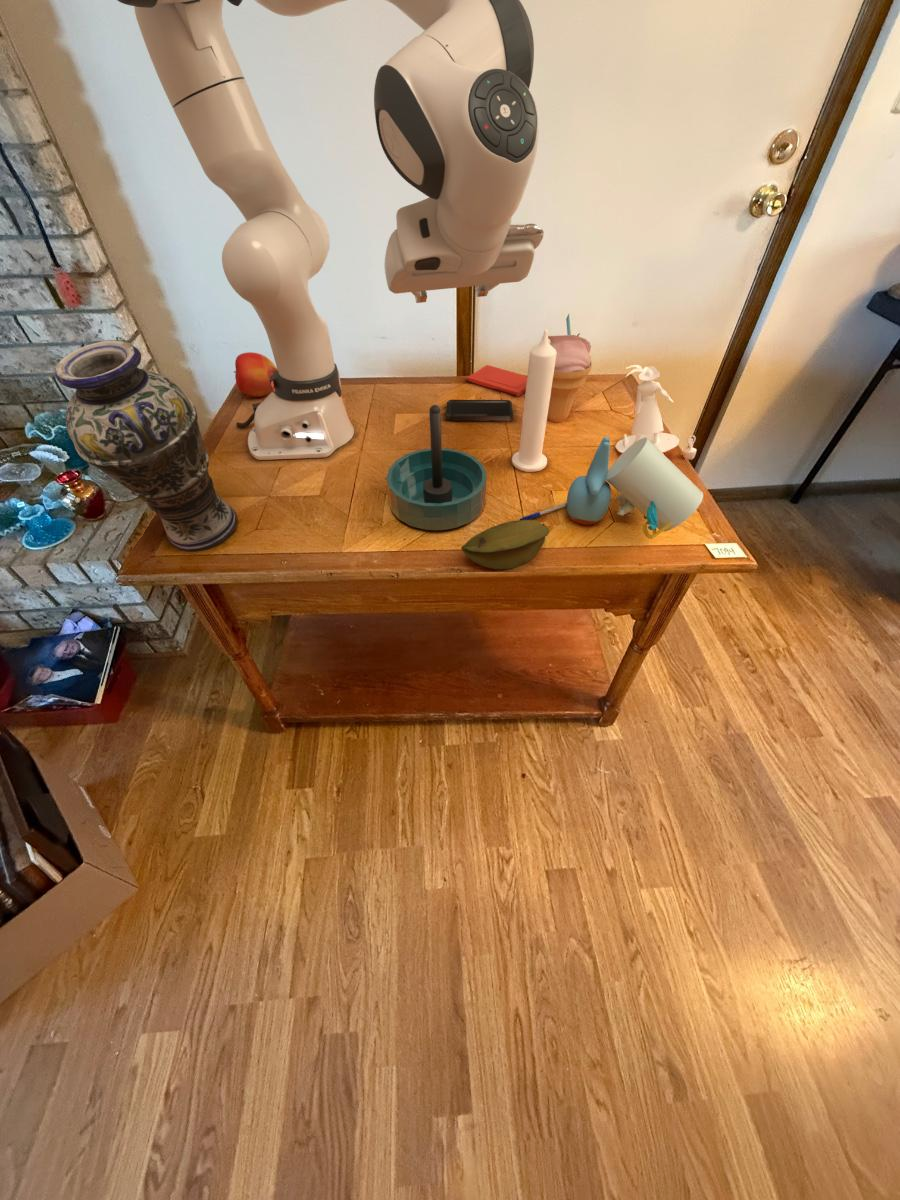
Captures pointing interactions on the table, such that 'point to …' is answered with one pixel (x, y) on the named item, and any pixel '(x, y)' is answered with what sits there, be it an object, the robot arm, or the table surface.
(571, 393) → the ice cream cone
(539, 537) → the fruit
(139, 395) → the vase
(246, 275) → the robot arm
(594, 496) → the toy
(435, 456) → the dark post on base
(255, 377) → the apple
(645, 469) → the pale green cylinder
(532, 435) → the candle
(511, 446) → the table surface
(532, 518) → the ballpoint pen
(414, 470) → the bowl
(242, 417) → the table surface
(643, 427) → the figurine
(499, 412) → the phone
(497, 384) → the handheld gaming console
